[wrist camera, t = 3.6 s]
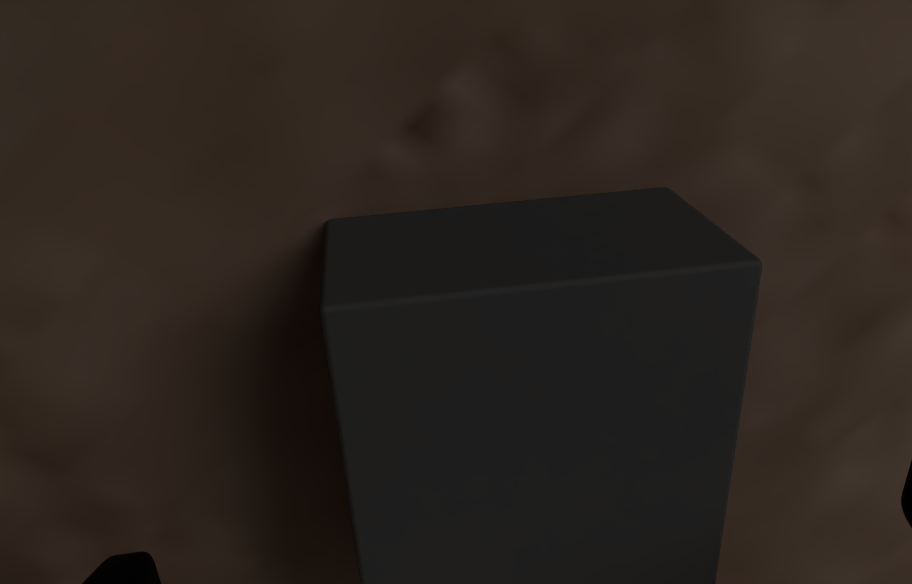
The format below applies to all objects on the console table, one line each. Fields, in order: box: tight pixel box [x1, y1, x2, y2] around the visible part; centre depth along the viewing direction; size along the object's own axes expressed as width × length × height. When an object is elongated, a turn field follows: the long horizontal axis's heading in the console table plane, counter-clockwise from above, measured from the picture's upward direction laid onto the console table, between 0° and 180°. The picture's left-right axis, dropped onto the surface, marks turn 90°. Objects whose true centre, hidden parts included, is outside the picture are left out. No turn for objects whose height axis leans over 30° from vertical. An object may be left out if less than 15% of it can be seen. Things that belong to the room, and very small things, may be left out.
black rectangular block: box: [319, 187, 762, 584], centre depth 10 cm, size 6×4×2 cm
